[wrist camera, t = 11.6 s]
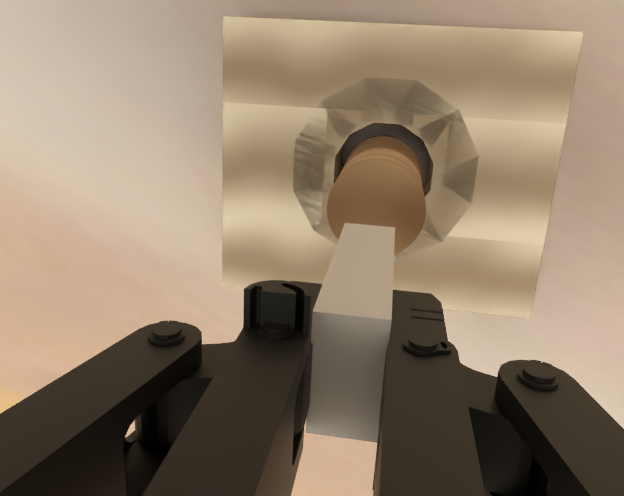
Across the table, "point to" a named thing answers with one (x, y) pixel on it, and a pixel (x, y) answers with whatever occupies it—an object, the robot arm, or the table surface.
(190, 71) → the table surface
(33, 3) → the table surface
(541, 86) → the board
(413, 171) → the peg
